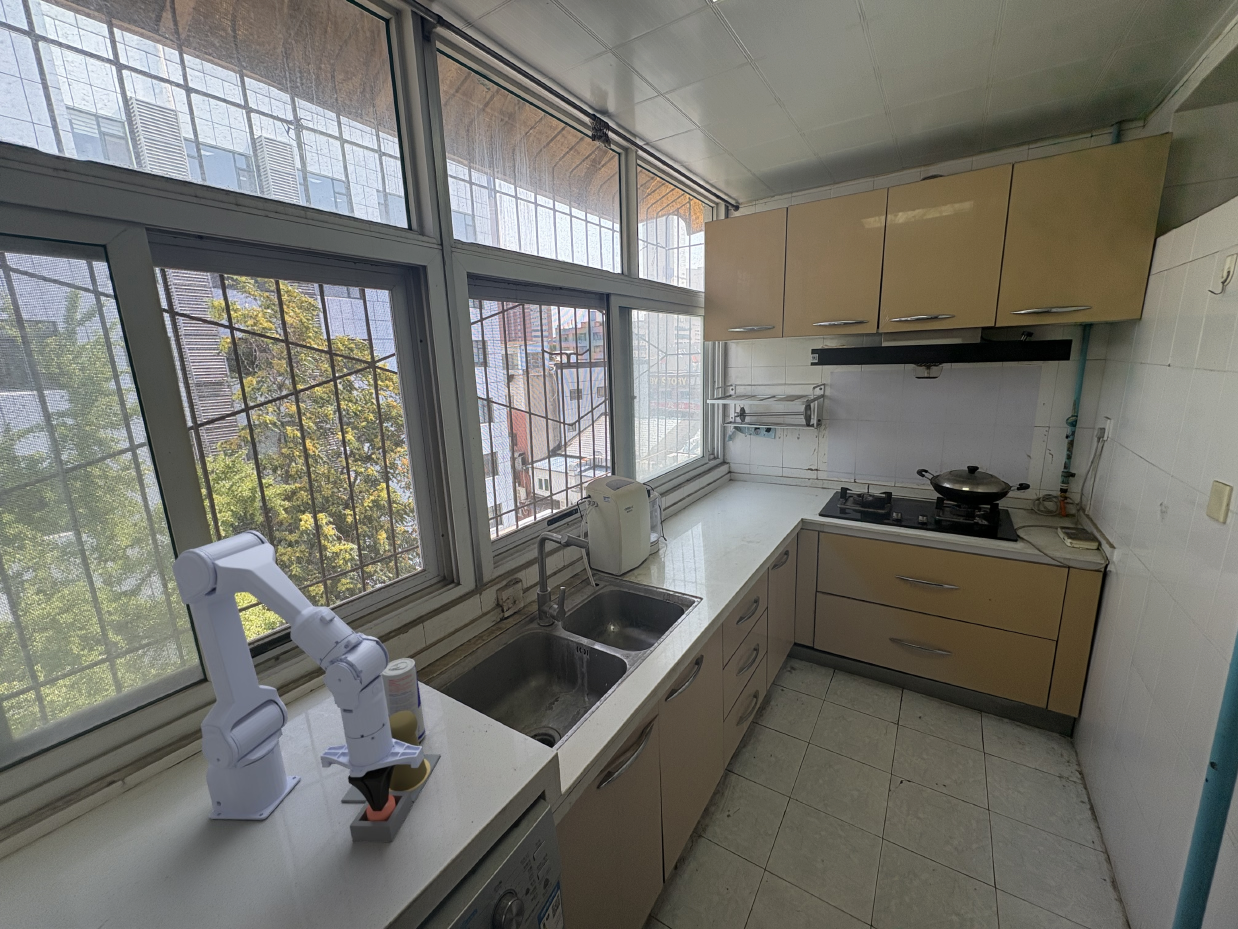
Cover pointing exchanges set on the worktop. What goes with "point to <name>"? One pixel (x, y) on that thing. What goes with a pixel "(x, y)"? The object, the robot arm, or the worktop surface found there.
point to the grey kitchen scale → (357, 796)
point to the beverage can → (403, 691)
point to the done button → (383, 814)
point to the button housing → (382, 829)
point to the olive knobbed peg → (404, 731)
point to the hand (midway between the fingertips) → (380, 805)
